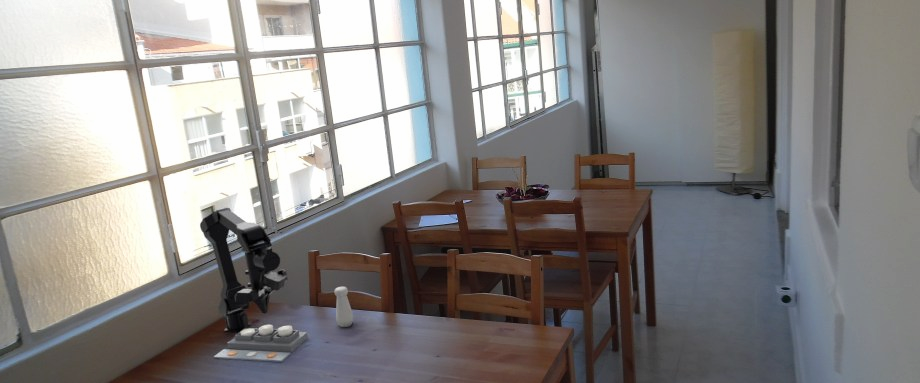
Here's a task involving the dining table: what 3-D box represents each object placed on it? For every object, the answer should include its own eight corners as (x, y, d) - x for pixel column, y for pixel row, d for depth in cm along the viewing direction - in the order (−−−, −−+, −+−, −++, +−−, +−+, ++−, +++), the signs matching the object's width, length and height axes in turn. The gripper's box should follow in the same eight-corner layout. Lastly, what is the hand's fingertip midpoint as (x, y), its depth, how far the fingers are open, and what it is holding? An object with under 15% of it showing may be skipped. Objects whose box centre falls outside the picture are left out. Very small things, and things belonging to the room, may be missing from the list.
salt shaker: (350, 328, 226) (345, 291, 223) (334, 328, 227) (329, 291, 224) (356, 321, 231) (351, 284, 229) (340, 321, 233) (335, 284, 230)
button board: (228, 348, 219) (226, 338, 219) (246, 335, 229) (244, 325, 228) (291, 352, 212) (289, 341, 211) (307, 338, 222) (306, 327, 221)
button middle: (256, 335, 218) (255, 330, 218) (264, 329, 222) (263, 324, 222) (268, 336, 217) (267, 330, 217) (276, 330, 221) (275, 324, 221)
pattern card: (214, 358, 213) (213, 355, 213) (224, 350, 218) (223, 348, 218) (281, 362, 206) (281, 359, 206) (290, 354, 211) (290, 352, 211)
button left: (238, 339, 221) (237, 334, 220) (246, 333, 225) (245, 328, 224) (250, 339, 219) (249, 334, 219) (258, 333, 224) (257, 328, 223)
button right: (275, 336, 216) (275, 331, 216) (283, 330, 220) (282, 325, 220) (288, 336, 215) (287, 331, 214) (295, 331, 219) (294, 325, 218)
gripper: (261, 275, 203) (270, 325, 206) (295, 256, 220) (302, 302, 223) (229, 275, 207) (238, 324, 210) (265, 256, 224) (273, 301, 227)
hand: (265, 313), depth 218 cm, fingers closed
